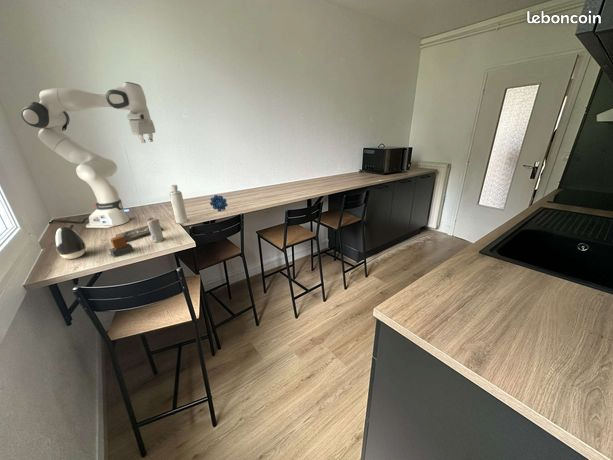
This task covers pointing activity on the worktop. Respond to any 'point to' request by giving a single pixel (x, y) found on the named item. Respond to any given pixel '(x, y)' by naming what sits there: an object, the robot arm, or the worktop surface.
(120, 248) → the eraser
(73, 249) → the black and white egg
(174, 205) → the white bottle
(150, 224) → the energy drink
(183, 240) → the worktop surface
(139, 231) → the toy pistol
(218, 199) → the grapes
